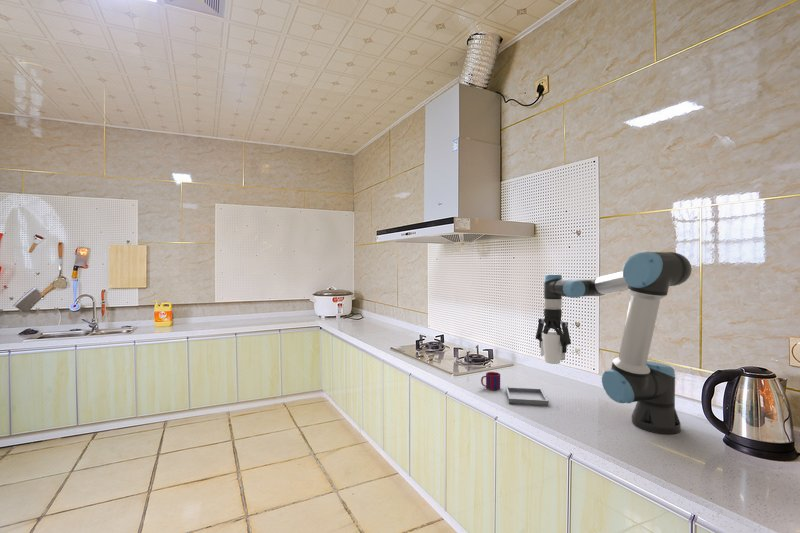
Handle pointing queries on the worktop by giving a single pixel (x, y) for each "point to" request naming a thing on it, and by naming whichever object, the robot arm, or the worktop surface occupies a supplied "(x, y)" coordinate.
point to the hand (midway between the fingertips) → (552, 357)
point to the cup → (492, 380)
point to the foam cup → (551, 347)
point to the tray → (526, 396)
